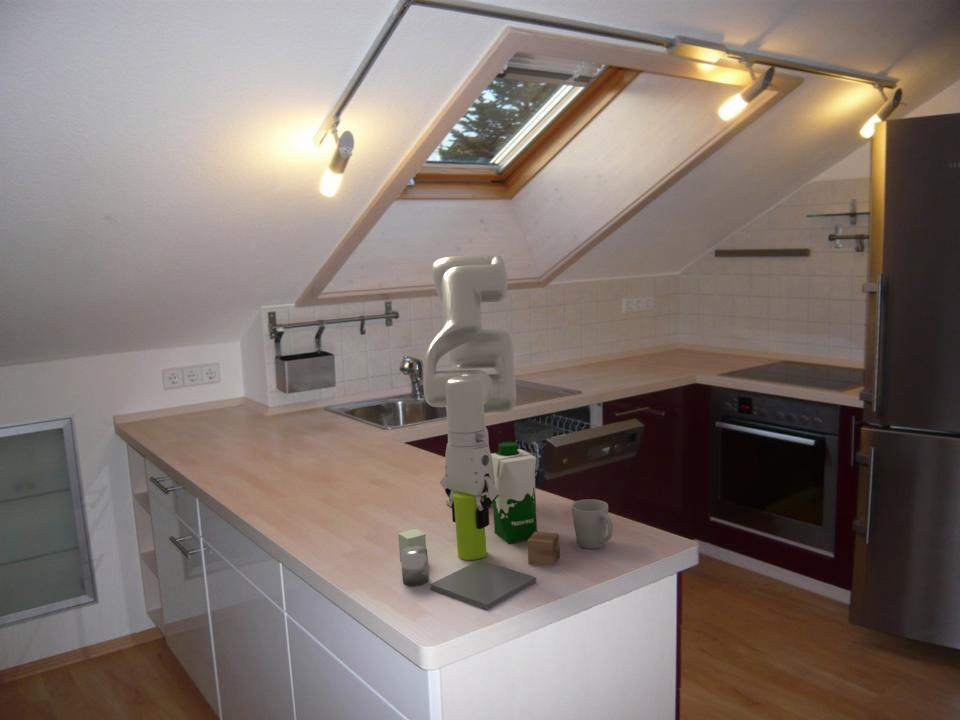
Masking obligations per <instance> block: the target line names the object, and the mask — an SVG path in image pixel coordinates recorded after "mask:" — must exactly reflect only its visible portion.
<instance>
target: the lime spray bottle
mask: <svg viewBox="0 0 960 720" xmlns="http://www.w3.org/2000/svg"><path fill="white" fill-rule="evenodd" d="M453 498H454V510H455V522H454V523H455V533H456V534H455V535H456V545H457V546H456V547H457V556H458V558H459V559H462V560H464V561H466V560H467V561H472V560H474V561H475V560H481V559H482V558H484V557H486V556H487V541H486V527H484V528H482V529H477V527H476V510H478V507H477V504H476V501H475V497H474V496H472V495H468V494H465V493H463V492H462V491H461V492H454V494H453ZM481 500H482V502H483V497H482V496H481Z"/></svg>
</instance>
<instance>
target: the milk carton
mask: <svg viewBox="0 0 960 720" xmlns="http://www.w3.org/2000/svg"><path fill="white" fill-rule="evenodd" d="M491 457H492V462H493V469H494V479H495V487H496V489H497V490H498V491H499V493H500V495H499V496H498V497H497V499H496V500H495V501H494V502H493V505H492V511H493V513H492V514H493V525H494V527H493V528H494V534H495V535H496V536H498V537H499V538H501V539H502V541H504V542H506V543H507V544H513V543H519V542H522V541H527V540H528V539H529V538H530V537H531V536H532V534H533V533H534V532H535V531H537V532H538V524H537V523H538V520H537V502H536V501H537V500H536V499H537V498H536V496H537V495H536V476H535V475H536V465H537V456H534V455H532V453H529V452H527V451H526V450H523V449H521V448H518V444H517V442H515V441H503V442H500V443H499V444H498V452H494V453H493V452H492V453H491Z"/></svg>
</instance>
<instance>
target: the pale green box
mask: <svg viewBox="0 0 960 720" xmlns="http://www.w3.org/2000/svg"><path fill="white" fill-rule="evenodd" d="M411 546H422V547H425V548H426V549H427V539H426V533H425V532H422V531H420V530H419V529H417V528H413V529H410V530H406V531H402V532H399V533H398V547H399V548H398V549H399V562H401V563H402V561H401V551H402V550H403V549H404V548H407V547H411Z"/></svg>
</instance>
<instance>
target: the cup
mask: <svg viewBox="0 0 960 720" xmlns="http://www.w3.org/2000/svg"><path fill="white" fill-rule="evenodd" d="M571 511H572V518H573V519H572V520H573V521H572V522H573V527H574V528H573V529H574V532H575V538H576V539H575V540H576V543H577V545H578V547H580V548H581V549H585V548H586V549H587V550H594V549H595V550H596V549H600V548H602V547H603V546H605V544H606V542H609V540H610V539H611V538H612V535H613V530H614V529H613V528H614V527H613V520H612V519H611V517H610V515H609V504H608V503H607V502H606V501H604V500H600V499H587V498H586V499H580V500H576V501H574V502H573V503H572V504H571Z"/></svg>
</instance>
